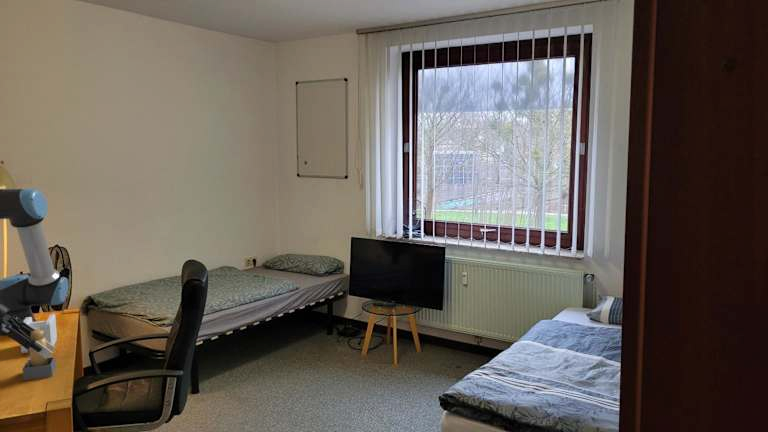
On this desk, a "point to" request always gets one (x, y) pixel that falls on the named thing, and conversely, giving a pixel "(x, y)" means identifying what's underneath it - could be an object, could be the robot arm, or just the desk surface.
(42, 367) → the grey open square box
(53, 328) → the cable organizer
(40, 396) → the desk surface
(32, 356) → the beige rounded figurine
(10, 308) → the robot arm
